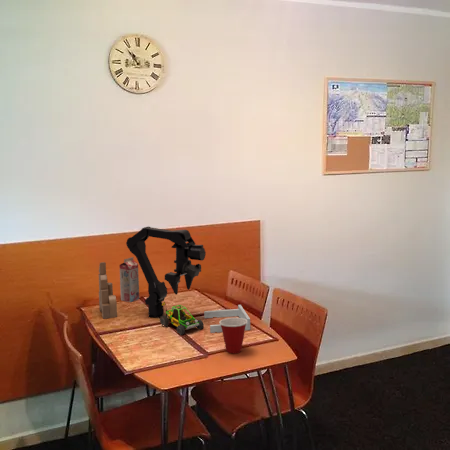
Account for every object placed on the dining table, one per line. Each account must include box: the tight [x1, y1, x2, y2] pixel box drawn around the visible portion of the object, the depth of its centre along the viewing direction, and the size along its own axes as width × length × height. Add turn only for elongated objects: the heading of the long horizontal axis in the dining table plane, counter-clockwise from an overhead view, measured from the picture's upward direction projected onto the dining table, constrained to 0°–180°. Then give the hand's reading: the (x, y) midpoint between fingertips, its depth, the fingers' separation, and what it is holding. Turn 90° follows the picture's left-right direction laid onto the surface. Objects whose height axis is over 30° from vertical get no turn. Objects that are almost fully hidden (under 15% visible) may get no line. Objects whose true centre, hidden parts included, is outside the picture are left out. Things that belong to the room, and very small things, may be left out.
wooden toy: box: [98, 261, 118, 320], centre depth 227 cm, size 15×7×25 cm, turn 21°
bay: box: [203, 304, 251, 334], centre depth 213 cm, size 17×19×5 cm
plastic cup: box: [219, 317, 247, 354], centre depth 184 cm, size 11×11×12 cm
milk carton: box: [119, 257, 140, 303], centre depth 247 cm, size 7×7×22 cm
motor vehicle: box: [159, 300, 205, 336], centre depth 210 cm, size 12×19×11 cm, turn 40°
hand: (182, 291), depth 217 cm, fingers open, 9 cm apart
